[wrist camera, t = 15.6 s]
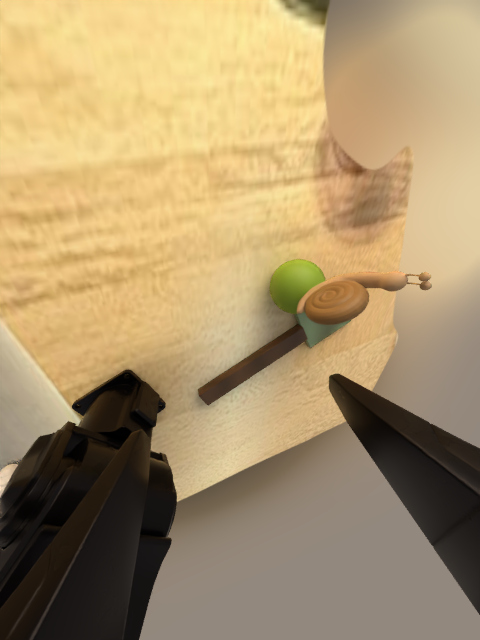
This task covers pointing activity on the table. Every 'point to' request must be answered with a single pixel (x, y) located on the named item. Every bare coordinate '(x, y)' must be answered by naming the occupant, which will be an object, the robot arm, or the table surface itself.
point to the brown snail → (331, 290)
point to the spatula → (267, 356)
